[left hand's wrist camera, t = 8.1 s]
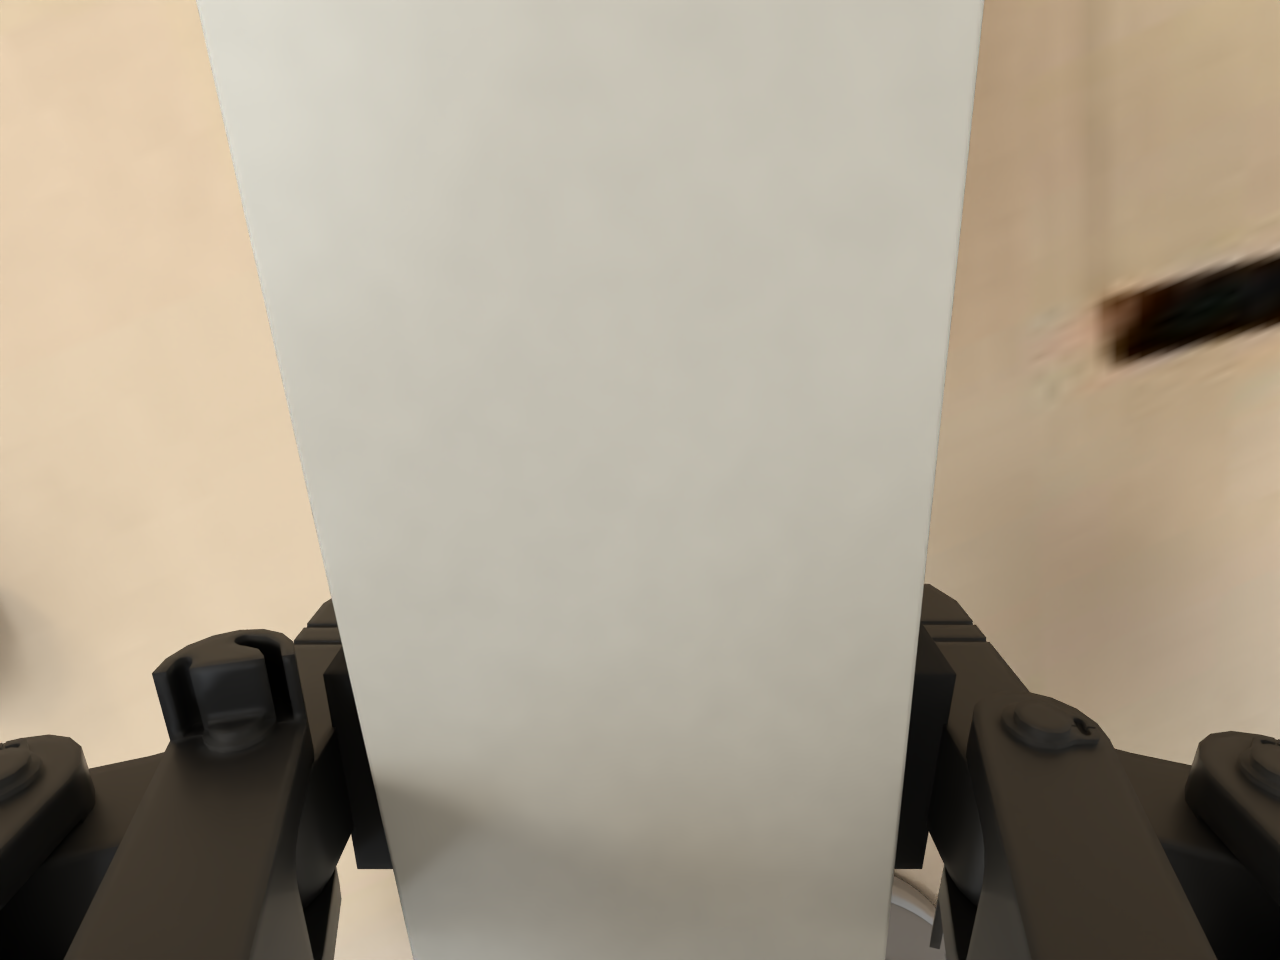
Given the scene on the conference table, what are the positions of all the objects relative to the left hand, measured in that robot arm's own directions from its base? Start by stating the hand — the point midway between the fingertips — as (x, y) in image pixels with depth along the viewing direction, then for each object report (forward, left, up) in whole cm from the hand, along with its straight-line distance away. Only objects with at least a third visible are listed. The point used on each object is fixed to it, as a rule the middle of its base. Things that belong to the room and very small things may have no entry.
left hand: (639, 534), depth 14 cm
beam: (+28, +12, -1) cm, 30 cm away
